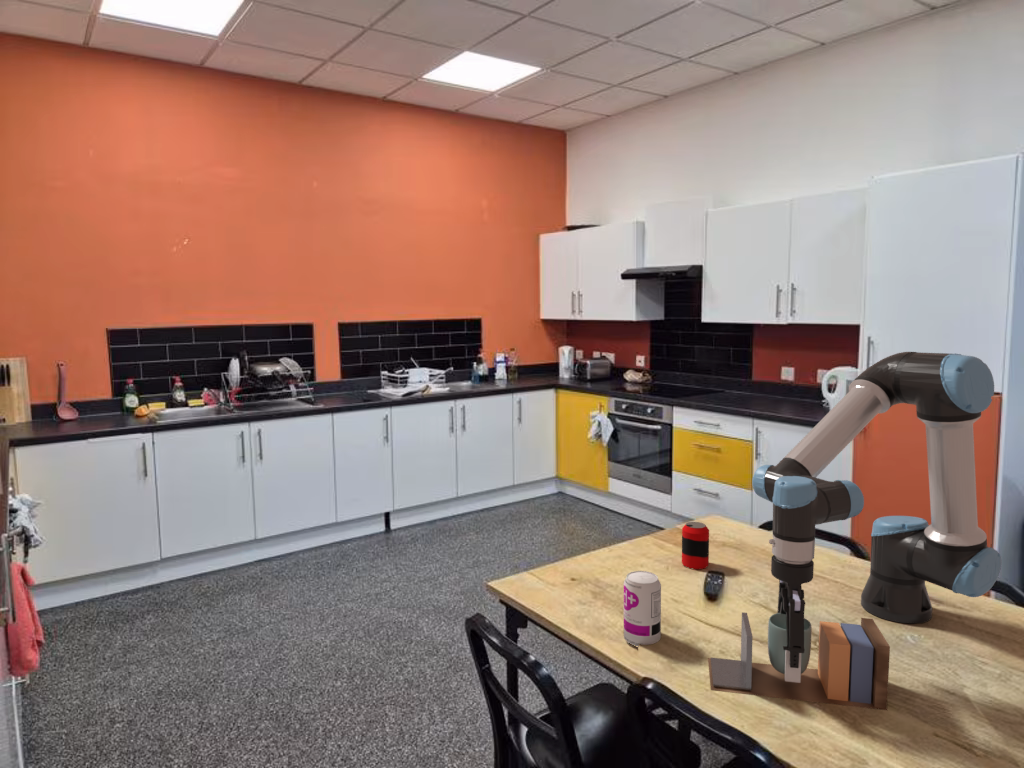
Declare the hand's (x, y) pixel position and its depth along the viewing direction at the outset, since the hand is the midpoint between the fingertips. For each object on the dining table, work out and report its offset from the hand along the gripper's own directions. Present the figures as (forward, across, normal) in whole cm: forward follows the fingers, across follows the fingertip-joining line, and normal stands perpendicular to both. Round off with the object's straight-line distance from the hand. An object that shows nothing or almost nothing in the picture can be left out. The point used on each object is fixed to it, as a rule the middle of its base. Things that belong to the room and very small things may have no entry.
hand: (788, 668), depth 130 cm
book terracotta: (+3, 0, +8) cm, 8 cm away
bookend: (+3, 0, -11) cm, 11 cm away
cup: (+1, 0, 0) cm, 1 cm away
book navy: (+3, 0, +12) cm, 12 cm away
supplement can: (+4, -13, -29) cm, 32 cm away
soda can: (+4, -61, -16) cm, 63 cm away
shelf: (+4, 0, +1) cm, 4 cm away
